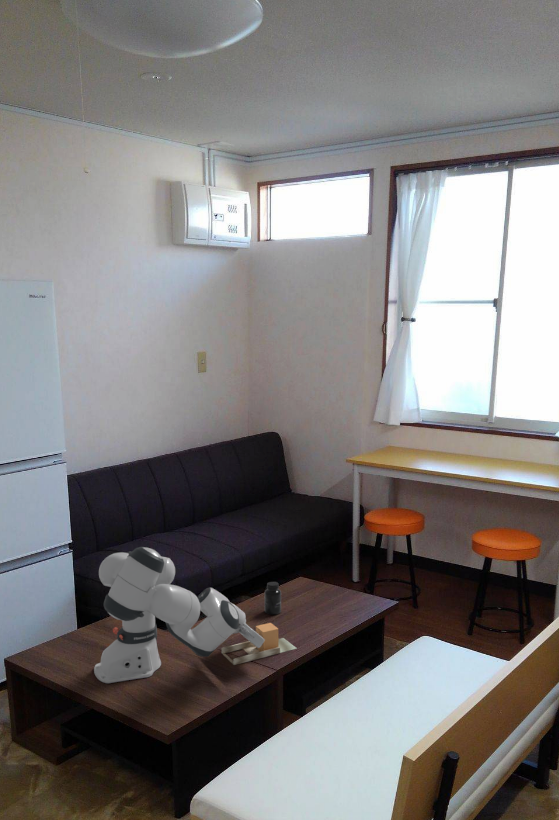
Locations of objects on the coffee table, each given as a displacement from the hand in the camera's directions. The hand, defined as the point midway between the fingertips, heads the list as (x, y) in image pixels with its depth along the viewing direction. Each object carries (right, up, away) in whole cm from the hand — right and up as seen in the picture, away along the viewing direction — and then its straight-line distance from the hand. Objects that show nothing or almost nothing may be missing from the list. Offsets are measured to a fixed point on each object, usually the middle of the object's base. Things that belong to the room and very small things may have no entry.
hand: (258, 641), depth 249 cm
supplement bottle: (+5, -1, +39) cm, 40 cm away
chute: (0, -5, +1) cm, 5 cm away
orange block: (+3, -4, +3) cm, 5 cm away
